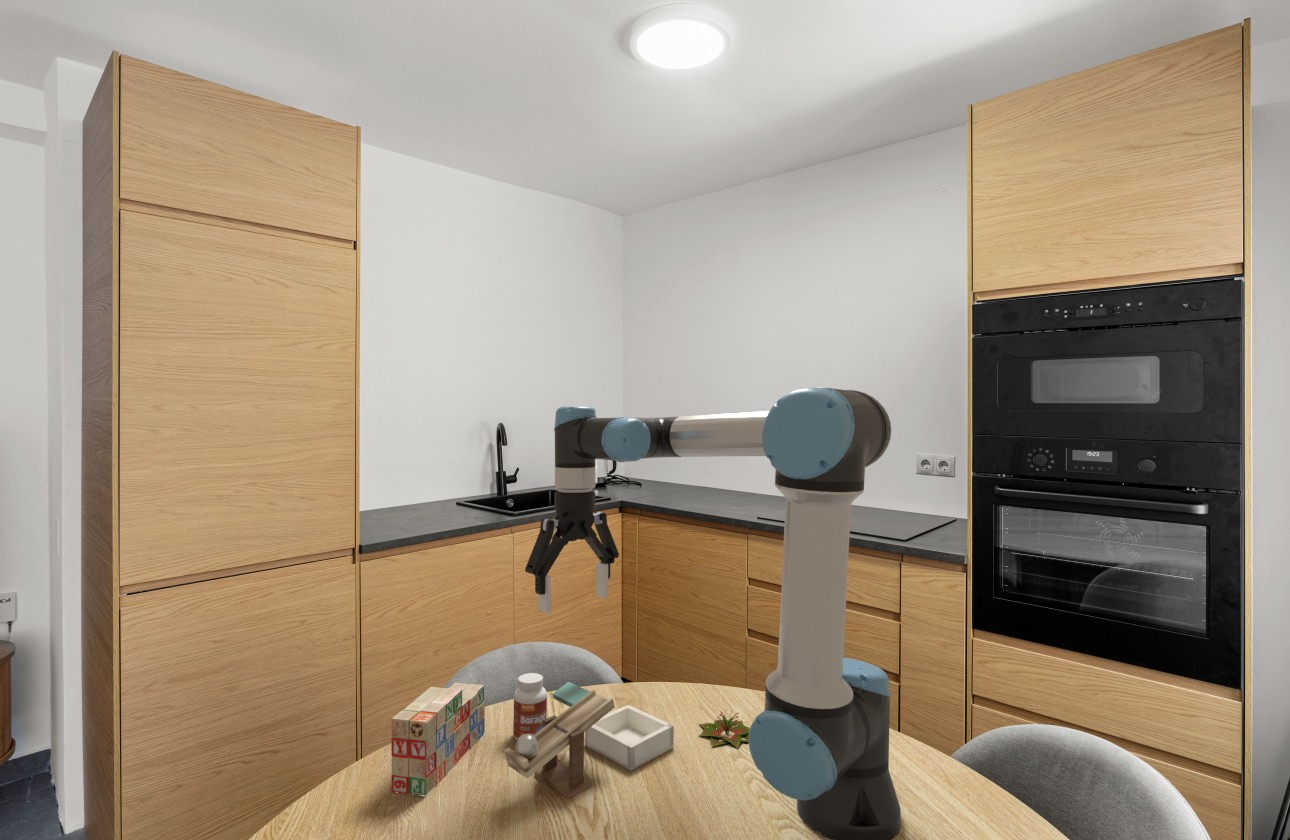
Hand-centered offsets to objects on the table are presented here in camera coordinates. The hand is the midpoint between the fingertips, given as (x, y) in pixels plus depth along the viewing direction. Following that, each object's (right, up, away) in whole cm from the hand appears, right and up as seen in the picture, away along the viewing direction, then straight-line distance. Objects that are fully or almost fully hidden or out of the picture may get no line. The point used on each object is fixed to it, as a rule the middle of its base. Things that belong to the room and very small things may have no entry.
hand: (574, 604), depth 120 cm
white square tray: (+10, -26, -1) cm, 28 cm away
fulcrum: (-1, -26, -13) cm, 29 cm away
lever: (-3, -18, -10) cm, 21 cm away
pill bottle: (-9, -26, +2) cm, 27 cm away
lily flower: (+29, -27, +4) cm, 39 cm away
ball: (-5, -17, -18) cm, 26 cm away
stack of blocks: (-22, -26, -7) cm, 35 cm away
